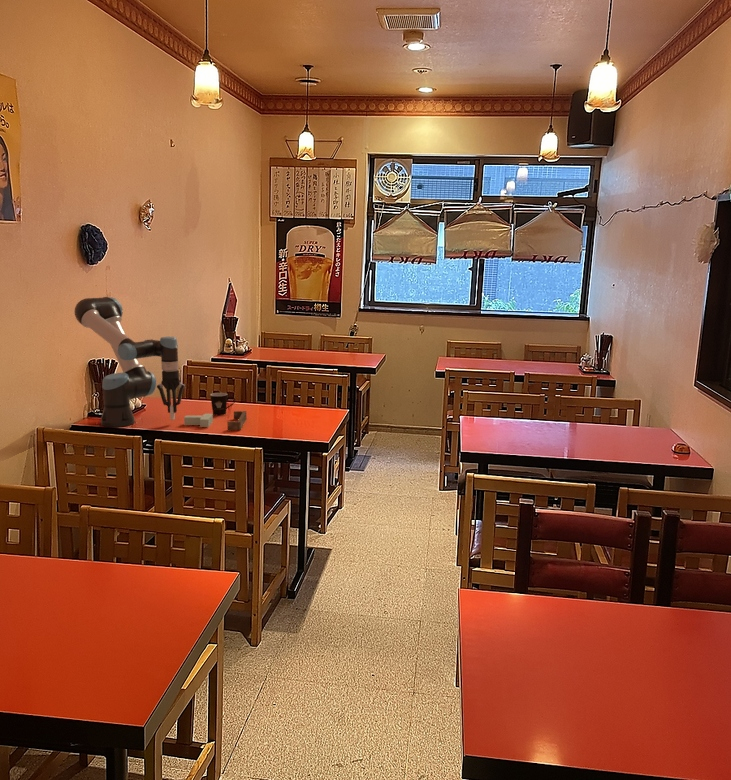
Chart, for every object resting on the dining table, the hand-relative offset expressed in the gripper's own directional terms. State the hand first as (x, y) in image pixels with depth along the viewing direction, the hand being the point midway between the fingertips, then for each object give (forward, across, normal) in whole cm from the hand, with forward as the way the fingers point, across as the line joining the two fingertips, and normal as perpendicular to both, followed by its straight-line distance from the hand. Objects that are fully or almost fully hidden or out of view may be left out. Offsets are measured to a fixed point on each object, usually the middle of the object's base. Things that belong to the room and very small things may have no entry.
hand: (172, 419), depth 329 cm
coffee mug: (+3, +20, +22) cm, 30 cm away
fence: (+3, +30, 0) cm, 30 cm away
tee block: (+3, +12, 0) cm, 12 cm away
